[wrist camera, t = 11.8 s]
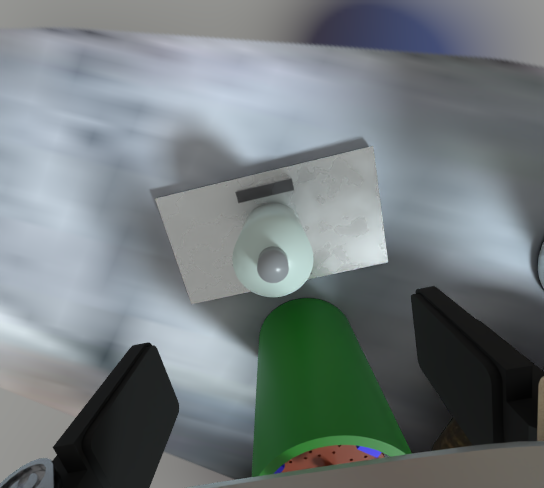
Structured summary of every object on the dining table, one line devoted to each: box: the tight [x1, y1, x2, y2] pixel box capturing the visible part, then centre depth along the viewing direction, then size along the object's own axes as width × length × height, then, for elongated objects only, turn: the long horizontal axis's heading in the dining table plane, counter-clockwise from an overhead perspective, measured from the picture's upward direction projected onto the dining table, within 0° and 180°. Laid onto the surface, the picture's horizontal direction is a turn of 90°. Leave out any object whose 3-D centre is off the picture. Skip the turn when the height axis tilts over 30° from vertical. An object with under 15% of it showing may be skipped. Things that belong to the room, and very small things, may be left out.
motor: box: [252, 298, 412, 477], centre depth 22 cm, size 10×9×20 cm
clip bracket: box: [155, 146, 388, 304], centre depth 27 cm, size 20×11×2 cm, turn 103°
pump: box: [232, 203, 313, 297], centre depth 23 cm, size 6×6×10 cm
